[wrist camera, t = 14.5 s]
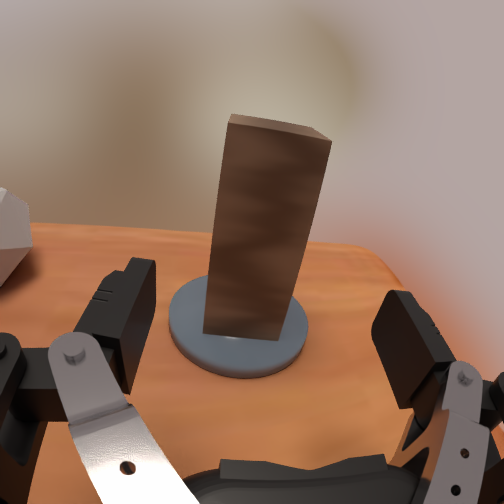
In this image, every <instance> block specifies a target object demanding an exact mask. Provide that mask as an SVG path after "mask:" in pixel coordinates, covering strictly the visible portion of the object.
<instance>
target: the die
mask: <svg viewBox="0 0 504 504" xmlns="http://www.w3.org/2000/svg"><path fill="white" fill-rule="evenodd" d="M32 247H33V244H32V237H31V228H30V220H29V209H28V204H26V203H25V202H24V201H22V200H21V199H19V198H18V197H16V196H15V195H13V194H12V193H10V192H9V191H7V190H5V189H4V188H1V187H0V287H1V286H2V284H3V283H4V282H5V280H6V279H7V278H8V277H9V275H10V274H11V273H12V271H13V270H14V269H15V268H16V266H17V265H18V264H19V263H20V261H21V260H22V259H23V258H24V257H25V255H26V254H27V253H28V252H29V251H30V250H31V248H32Z"/></svg>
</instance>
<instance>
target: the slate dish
mask: <svg viewBox="0 0 504 504" xmlns="http://www.w3.org/2000/svg"><path fill="white" fill-rule="evenodd" d="M207 281H208V275H206V276H202V277H199V278H197V279H194V280H192V281H190V282H188V283H186V284H185V285H184V286H182V287H181V288H180V289H179V290H178V291H177V292H176V293H175V295H174V296H173V298H172V300H171V303H170V308H169V328H170V333H171V337H172V339H173V341H174V343H175V345H176V346H177V347H178V349H179V350H180V351H181V352H182V353H183V354H184V356H185V357H187V358H188V359H189V360H190V361H192V362H193V363H195V364H196V365H198V366H200V367H201V368H203V369H206V370H208V371H210V372H213V373H216V374H219V375H223V376H227V377H234V378H257V377H263V376H267V375H271V374H274V373H276V372H279V371H281V370H282V369H284V368H286V367H287V366H289V365H290V364H291V363H292V362H293V361H294V360H295V359H296V358H297V357H298V355H299V353H300V352H301V349H302V347H303V344H304V342H305V339H306V336H307V332H308V321H307V317H306V314H305V312H304V310H303V308H302V306H301V305H300V304H299V303H298V301H297V300H296V299H295V298H294V297H293V296H292V297H291V301H290V304H289V307H288V311H287V314H286V317H285V321H284V324H283V327H282V331H281V334H280V337H279V340H278V341H269V340H258V339H247V338H237V337H228V336H219V335H210V334H202V332H203V321H204V311H205V300H206V290H207Z"/></svg>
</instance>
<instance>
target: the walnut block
mask: <svg viewBox="0 0 504 504" xmlns="http://www.w3.org/2000/svg"><path fill="white" fill-rule="evenodd" d="M331 145H332V141H331V140H330V139H328V138H327V137H325V136H324V135H322V134H321V133H319V132H318V131H316V130H314V129H313V128H311V127H307V126H302V125H296V124H291V123H286V122H281V121H275V120H269V119H263V118H257V117H251V116H244V115H237V114H231V116H230V119H229V121H228V126H227V132H226V139H225V146H224V153H223V160H222V167H221V174H220V181H219V189H218V197H217V204H216V212H215V220H214V228H213V236H212V245H211V253H210V262H209V271H208V281H207V290H206V300H205V311H204V321H203V332H202V334H210V335H219V336H228V337H237V338H247V339H258V340H269V341H278V340H279V337H280V334H281V331H282V327H283V324H284V321H285V317H286V314H287V311H288V307H289V304H290V301H291V297H292V294H293V290H294V287H295V284H296V280H297V277H298V273H299V269H300V266H301V262H302V259H303V255H304V251H305V248H306V244H307V240H308V236H309V233H310V229H311V225H312V222H313V218H314V214H315V210H316V206H317V202H318V198H319V194H320V190H321V186H322V182H323V178H324V174H325V170H326V166H327V161H328V157H329V153H330V149H331Z"/></svg>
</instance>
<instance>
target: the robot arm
mask: <svg viewBox="0 0 504 504" xmlns="http://www.w3.org/2000/svg"><path fill="white" fill-rule="evenodd" d="M155 307H156V263H155V260H149V259H142V258H135V257H132V258H131V260H130V261H129V263H128V265H127V267H126V269H125V270H124V272H123V271H117V270H115V271H113V272H112V273H110V274H109V275H108V276H106V277H105V278H104V279H103V280H102V282H101V284H100V285H99V287H98V289H97V291H96V292H95V294H94V295H93V297H92V300H90V302H89V304H88V306H87V307H86V309H85V311H84V313H83V315H82V316H81V318H80V320H79V322H78V324H77V325H76V327H75V329H74V331H73V332H70V333H66V334H63V335H61V336H59V337H58V338H57V339H55V340H54V341H53V343H52V344H51V345H50V347H48V348H21V345H20V343H19V341H18V339H17V338H16V337H15V336H13V335H12V334H9V333H0V504H27V501H28V496H29V491H30V487H31V482H32V478H33V474H34V470H35V466H36V462H37V458H38V455H39V451H40V447H41V444H42V441H43V437H44V434H45V430H46V427H47V424H48V422H69V424H68V427H69V430H70V433H71V436H72V438H73V441H74V443H75V445H76V448H77V450H78V453H79V455H80V457H81V459H82V462H83V464H84V466H85V468H86V470H87V472H88V474H89V476H90V478H91V480H92V482H93V484H94V486H95V488H96V490H97V492H98V494H99V496H100V498H101V500H102V502H103V503H104V504H504V458H503V459H502V460H501V457H500V455H499V452H498V449H497V447H496V444H495V441H494V439H493V436H492V434H491V431H492V430H493V429H494V428H495V427H496V426H498V425H499V424H500V423H501V422H502V421H503V423H504V372H502V373H500V375H499V376H498V377H497V378H496V380H495V381H494V382H491V381H486V380H482V378H481V375H480V374H479V372H478V371H477V370H476V369H475V368H474V367H473V366H472V365H470V364H468V363H466V362H463V361H457V360H456V359H455V357H454V355H453V354H452V352H451V350H450V348H449V347H448V345H447V344H446V342H445V340H444V338H443V337H442V335H440V332H439V330H438V328H437V327H435V324H434V322H433V321H432V319H431V317H430V316H429V314H428V313H426V312H425V311H424V310H423V309H422V308H421V307H420V306H419V304H418V303H417V301H416V300H415V298H414V297H413V295H412V294H411V293H410V292H408V291H399V290H390V291H389V292H388V293H387V294H386V296H385V298H384V301H383V303H382V305H381V307H380V309H379V311H378V313H377V315H376V317H375V320H374V322H373V324H372V329H371V335H372V340H373V342H374V345H375V347H376V350H377V352H378V354H379V357H380V359H381V362H382V365H383V367H384V370H385V372H386V375H387V377H388V380H389V383H390V385H391V388H392V390H393V393H394V396H395V399H396V401H397V404H398V407H399V409H407V408H413V410H414V412H413V413H412V414H411V415H410V417H409V419H408V422H407V424H406V427H405V430H404V432H403V435H402V438H401V440H400V443H399V445H398V447H397V450H396V452H395V455H394V457H393V458H392V460H391V461H390V463H389V464H387V463H386V459H385V456H384V454H379V455H371V456H363V457H354V458H348V459H345V460H342V461H340V462H337V463H334V464H331V465H328V466H324V467H321V468H318V469H315V470H304V469H298V468H293V467H288V466H284V465H279V464H275V463H271V462H266V461H244V460H228V459H221V460H220V464H219V468H218V469H213V470H207V471H203V472H199V473H196V474H194V475H191V476H188V477H186V478H184V479H182V480H181V478H180V477H179V476H178V474H177V473H176V471H175V470H174V469H173V467H172V466H171V464H170V463H169V461H168V460H167V458H166V457H165V455H164V454H163V452H162V451H161V449H160V448H159V446H158V445H157V443H156V441H155V440H154V438H153V437H152V435H151V433H150V432H149V430H148V429H147V427H146V425H145V424H144V422H143V420H142V418H141V417H140V415H139V413H138V412H137V410H136V409H135V407H134V406H133V405H132V404H129V403H128V402H127V400H126V399H125V397H124V395H123V393H124V394H129V395H130V393H131V389H132V386H133V382H134V379H135V375H136V372H137V369H138V365H139V362H140V359H141V355H142V352H143V349H144V345H145V342H146V339H147V336H148V333H149V330H150V327H151V323H152V320H153V317H154V313H155Z"/></svg>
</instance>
